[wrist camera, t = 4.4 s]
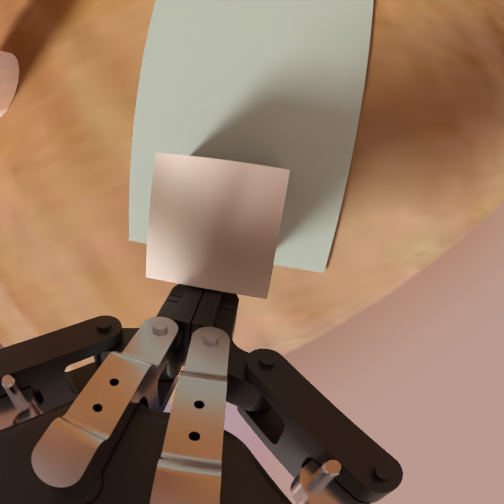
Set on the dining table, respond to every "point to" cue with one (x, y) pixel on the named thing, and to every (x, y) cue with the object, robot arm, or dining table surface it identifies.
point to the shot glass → (7, 79)
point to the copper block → (214, 223)
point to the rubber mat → (256, 103)
